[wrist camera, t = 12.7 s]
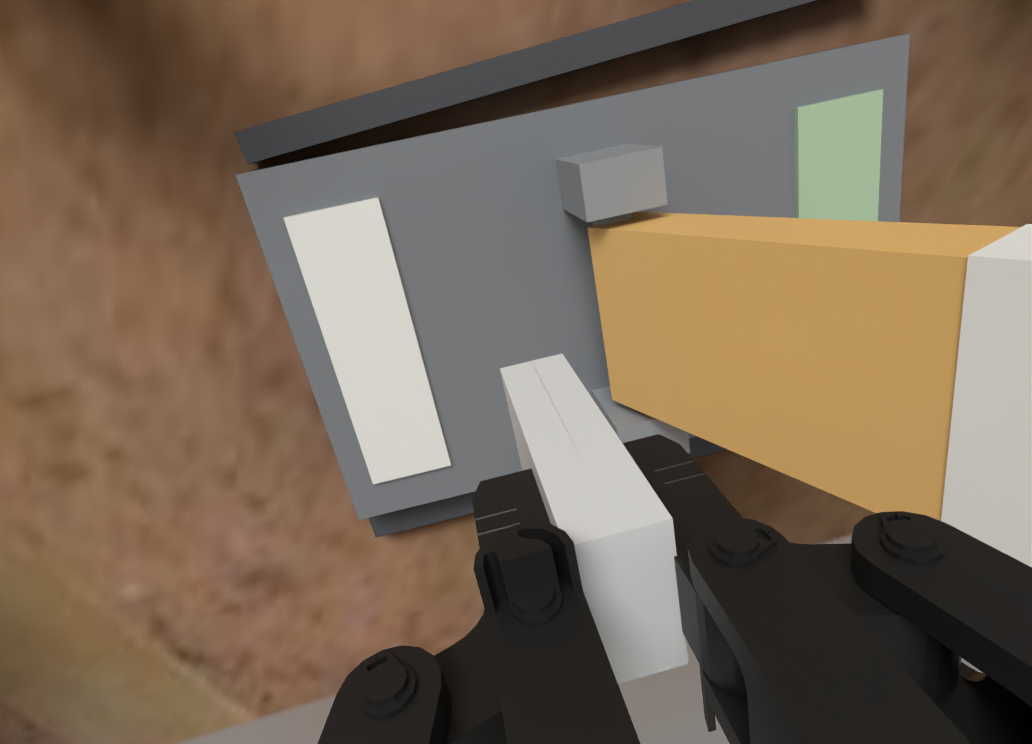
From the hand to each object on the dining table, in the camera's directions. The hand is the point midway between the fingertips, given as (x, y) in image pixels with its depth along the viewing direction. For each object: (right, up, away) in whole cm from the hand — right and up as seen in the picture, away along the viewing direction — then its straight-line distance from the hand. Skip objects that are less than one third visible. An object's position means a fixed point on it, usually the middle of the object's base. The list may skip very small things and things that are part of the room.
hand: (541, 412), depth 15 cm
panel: (+2, +5, +10) cm, 11 cm away
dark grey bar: (+1, +12, +6) cm, 13 cm away
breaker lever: (+3, +3, +6) cm, 7 cm away
